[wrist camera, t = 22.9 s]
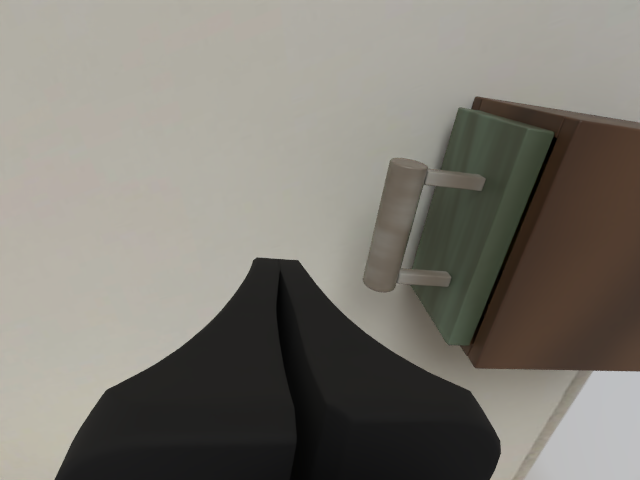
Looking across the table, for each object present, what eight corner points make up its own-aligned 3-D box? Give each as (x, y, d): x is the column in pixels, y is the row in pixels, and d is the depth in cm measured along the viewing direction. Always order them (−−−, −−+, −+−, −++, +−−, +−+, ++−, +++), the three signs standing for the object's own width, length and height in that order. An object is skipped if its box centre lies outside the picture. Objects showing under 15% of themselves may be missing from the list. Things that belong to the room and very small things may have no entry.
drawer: (340, 277, 23) (362, 343, 18) (377, 94, 19) (420, 111, 13) (580, 292, 26) (658, 352, 21) (660, 138, 22) (784, 165, 16)
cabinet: (418, 282, 25) (474, 368, 18) (474, 96, 20) (580, 119, 13) (594, 293, 27) (702, 373, 21) (683, 129, 23) (862, 164, 16)
